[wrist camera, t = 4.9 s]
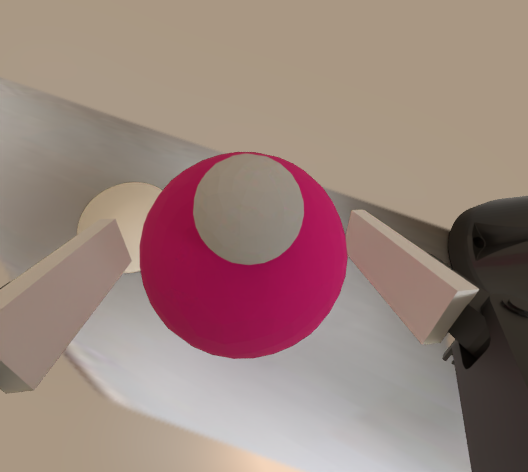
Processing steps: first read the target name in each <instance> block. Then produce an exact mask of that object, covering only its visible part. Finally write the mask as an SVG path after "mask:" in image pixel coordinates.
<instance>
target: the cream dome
mask: <svg viewBox="0 0 528 472" xmlns="http://www.w3.org/2000/svg"><path fill="white" fill-rule="evenodd" d="M162 191H163V190H161V189H160V188H158V187H156V186H153V185H150V184H146V183H140V182H129V183H123V184H118V185H116V186H113V187H110V188H108V189H106V190H105V191H103V192H101V193H100V194H98V195H97V196H96V197H95V198H94V199H93V200H91V202H90V203H89V204H88V205H87V206H86V208H85V209H84V211H83V213H82V215H81V217H80V219H79V222H78V227H77V235H78V234H80V233H81V232H82V231H84V230H85V229H87V228H88V227H89V226H91V225H92V224H94V223H95V222H97V221H98V220H99V219H116V221H117V224H118V226H119V229H120V232H121V234H122V237H123V239H124V242H125V244H126V247H127V250H128V252H129V255H130V257H131V260H132V262H131V263H130V264H129V266H128V267H127V268H126V270H125V271H124V272H123V273H135V272H140V271H141V270H140V248H139V245H140V240H141V235H142V230H143V225H144V222H145V220H146V217H147V214H148V212H149V211H150V209H151V207H152V206H153V204H154V202H155V200H156V199H157V197H158V195H159V194H160V193H161V192H162Z"/></svg>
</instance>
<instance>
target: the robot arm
mask: <svg viewBox="0 0 528 472" xmlns="http://www.w3.org/2000/svg"><path fill="white" fill-rule="evenodd" d="M345 237H346V247H347V255H348V256H349V258H350V259H351V260H352V261H353V262H354V264H355V265H356V266H357V267H358V268H359V270H360V271H361V272H362V273H363V274H364V276H365V277H366V278H367V279H368V280H369V282H370V283H371V284H372V285H373V286H374V288H375V289H376V290H377V291H378V292H379V294H380V295H381V296H382V297H383V298H384V300H385V301H386V302H387V303H388V304H389V306H390V307H391V308H392V309H393V310H394V312H395V313H396V314H397V315H398V316H399V318H400V319H401V320H402V321H403V322H404V324H405V325H406V326H407V327H408V328H409V330H410V331H411V332H412V333H413V334H414V336H415V337H416V338H417V339H418V340H419V342H420V343H421V344H422V345H425V344H433V343H441V341H442V340H443V338H444V337H445V336H446V334H447V333H448V332H449V333H450V334H451V335H452V336H453V337H454V338H455V341H454V342H453V343H452V344H451V346H450V347H449V348H448V349H447V351H446V352H445V353H444V355H443V360H445V361H446V360H447V359H448V358H449V357H450V356H451V355H453V358H454V360H453V361H452V364H454V365H455V370H456V376H457V382H458V389H459V395H460V401H461V407H462V414H463V420H464V426H465V432H466V438H467V445H468V451H469V457H470V463H471V470H472V472H528V196H522V197H514V198H505V199H498V200H493V201H490V202H487V203H484V204H481V205H478V206H476V207H473V208H470V209H468V210H466V211H465V212H463V213H462V214H461V215H460V216H459V217H458V218H457V219H456V221H455V222H454V224H453V226H452V228H451V231H450V235H449V255H450V260H451V264H452V267H453V270H452V268H451V267H450V266H448V265H447V264H443V262H442V261H441V260H439V259H438V258H436V257H435V256H433V255H432V254H429V253H427V252H425V251H423V250H422V249H420V248H419V247H417V246H416V245H414V244H413V243H412V242H410V241H409V240H407V239H406V238H404V237H403V236H401V235H400V234H399V233H397V232H396V231H394V230H393V229H391V228H390V227H388V226H387V225H385V224H384V223H383V222H381V221H380V220H378V219H377V218H375V217H374V216H372V215H371V214H369V213H368V212H367V211H365V210H352V211H351V215H350V219H349V223H348V227H347V231H346V235H345ZM131 262H132V260H131V257H130V255H129V252H128V250H127V247H126V244H125V242H124V239H123V237H122V234H121V232H120V229H119V226H118V224H117V221H116V219H99V220H98V221H97V222H95V223H94V224H92V225H91V226H89V227H88V228H87V229H85V230H84V231H82V232H81V233H80V234H78V235H77V236H75V237H74V238H72V239H71V240H70V241H68V242H67V243H65V244H64V245H63V246H61V247H60V248H58V249H57V250H55V251H54V252H53V253H51V254H50V255H48V256H47V257H46V258H44V259H43V260H41V261H40V262H38V263H37V264H36V265H34V266H33V267H31V268H30V269H29V270H27V271H26V272H24V273H23V274H21V275H20V276H19V277H17V278H16V279H14V280H13V281H11V282H9V283H7V284H6V285H4V286H3V287H2V288H0V389H1V390H2V391H3V392H5V393H15V392H23V391H32V390H35V388H36V387H37V386H38V384H39V383H40V382H41V380H42V379H43V377H45V375H46V374H47V373H48V371H49V370H50V368H51V367H52V366H53V365H54V363H55V362H56V361H57V359H58V358H59V357H60V355H61V354H62V353H63V351H64V350H65V349H66V347H67V346H68V345H69V343H70V342H71V341H72V340H73V338H74V337H75V336H76V334H77V333H78V332H79V330H80V329H81V328H82V326H83V325H84V324H85V322H86V321H87V320H88V318H89V317H90V316H91V314H92V313H93V312H94V310H95V309H96V308H97V307H98V305H99V304H100V303H101V301H102V300H103V299H104V297H105V296H106V295H107V293H108V292H109V291H110V289H111V288H112V287H113V285H114V284H115V283H116V281H117V280H118V279H119V277H120V276H121V275H122V274H123V272H124V271H125V270H126V268H127V267H128V266H129V264H130V263H131Z"/></svg>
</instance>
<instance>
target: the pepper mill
mask: <svg viewBox="0 0 528 472" xmlns="http://www.w3.org/2000/svg"><path fill="white" fill-rule="evenodd" d="M139 248H140V270H141V275H142V280H143V285H144V288H145V290H146V293H147V296H148V298H149V301H150V303H151V305H152V307H153V308H154V310H155V311H156V313H157V314H158V316H159V317H160V318H161V320H162V321H163V322H164V324H165V325H166V326H167V328H168V329H170V330H171V331H172V332H174V333H175V334H177V335H178V336H179V337H181V338H182V339H183V340H185V341H186V342H187V343H189V344H190V345H191V346H193V347H195V348H198V349H200V350H203V351H205V352H207V353H210V354H212V355H217V356H222V357H228V358H233V359H237V358H256V357H261V356H266V355H270V354H274V353H277V352H279V351H282V350H284V349H286V348H289V347H291V346H293V345H295V344H296V343H298V342H299V341H301V340H302V339H304V338H305V337H307V336H308V335H310V334H311V333H312V332H313V331H314V330H315V329H316V328H317V327H318V326H319V325H320V323H321V322H322V321H323V320H324V318H325V317H326V316H327V315H328V314H329V312H330V311H331V309H332V307H333V305H334V303H335V301H336V300H337V298H338V296H339V294H340V291H341V288H342V285H343V282H344V279H345V275H346V266H347V257H348V256H347V247H346V237H345V233H344V230H343V226H342V223H341V220H340V217H339V215H338V212H337V210H336V208H335V206H334V204H333V202H332V201H331V199H330V198H329V196H328V195H327V193H326V192H325V190H324V189H323V188H322V187H321V186H320V185H319V184H318V183H317V182H316V181H315V180H314V179H313V178H312V177H311V176H309V175H308V174H307V173H306V172H305V171H304V170H302V169H301V168H299V167H297V166H296V165H294V164H293V163H290V162H288V161H286V160H284V159H281V158H278V157H275V156H270V155H265V154H261V153H256V152H234V153H228V154H221V155H218V156H215V157H212V158H208V159H205V160H202V161H201V162H199V163H197V164H195V165H193V166H191V167H190V168H188V169H186V170H184V171H183V172H182V173H180V174H179V175H178V176H177V177H175V178H174V179H173V180H171V181H170V183H169V184H168V185H167V186H166V187H165V188H164V189H163V191H162V192H161V193H160V194H159V195H158V197H157V199H156V200H155V202H154V204H153V206H152V207H151V209H150V211H149V212H148V214H147V217H146V220H145V222H144V225H143V230H142V235H141V240H140V245H139Z"/></svg>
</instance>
